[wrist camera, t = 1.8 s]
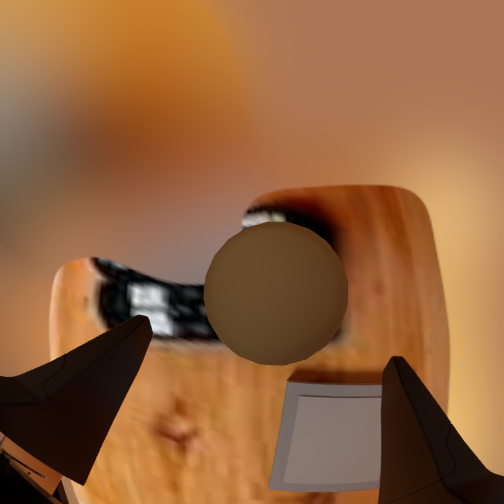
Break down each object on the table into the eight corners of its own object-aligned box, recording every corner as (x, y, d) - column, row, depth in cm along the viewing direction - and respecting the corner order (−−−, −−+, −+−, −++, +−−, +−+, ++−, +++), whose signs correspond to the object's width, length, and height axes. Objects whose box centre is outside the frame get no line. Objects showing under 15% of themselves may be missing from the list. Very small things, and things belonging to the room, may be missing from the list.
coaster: (381, 481, 13) (385, 487, 12) (269, 483, 14) (268, 489, 13) (406, 381, 16) (412, 383, 15) (287, 379, 17) (287, 382, 16)
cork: (330, 280, 19) (378, 212, 8) (313, 363, 17) (350, 399, 7) (248, 264, 20) (207, 184, 9) (229, 345, 18) (159, 354, 8)
